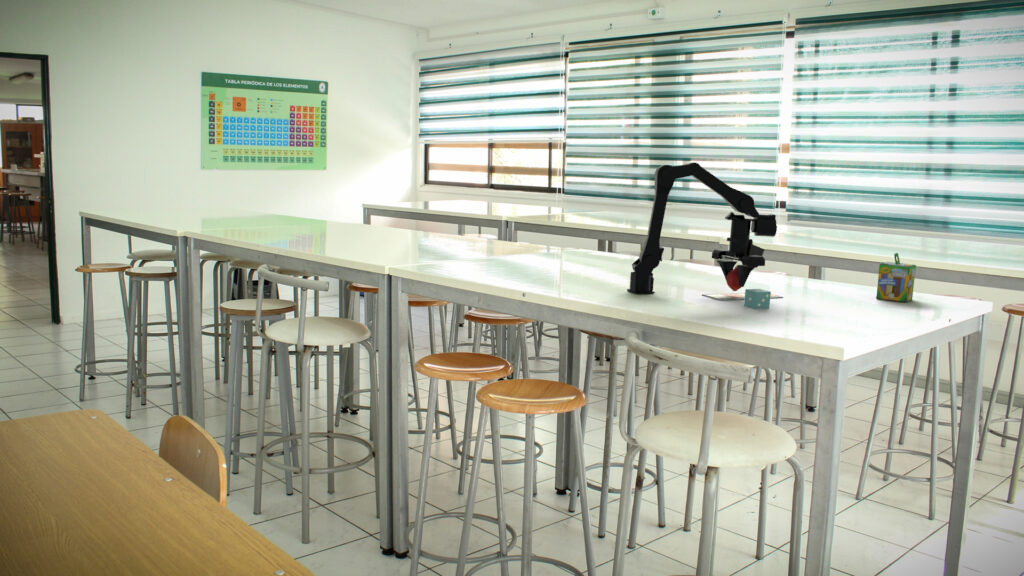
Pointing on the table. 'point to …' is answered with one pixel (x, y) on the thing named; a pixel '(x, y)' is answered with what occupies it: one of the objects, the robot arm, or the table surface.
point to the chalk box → (896, 281)
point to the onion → (733, 279)
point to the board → (733, 296)
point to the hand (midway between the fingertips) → (735, 285)
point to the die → (757, 298)
